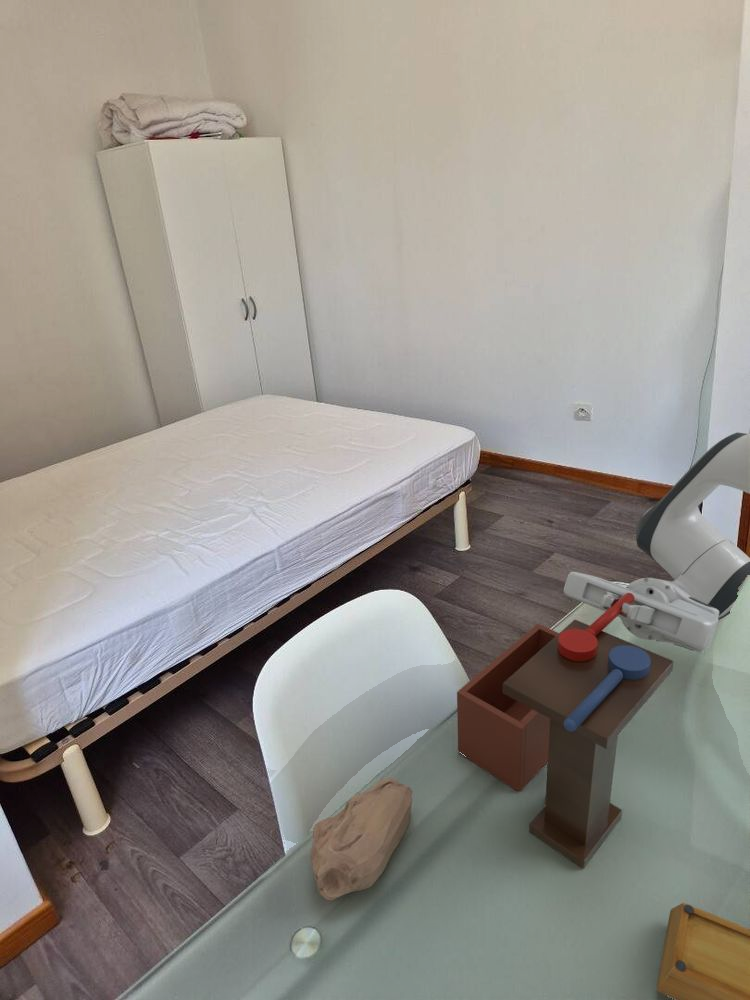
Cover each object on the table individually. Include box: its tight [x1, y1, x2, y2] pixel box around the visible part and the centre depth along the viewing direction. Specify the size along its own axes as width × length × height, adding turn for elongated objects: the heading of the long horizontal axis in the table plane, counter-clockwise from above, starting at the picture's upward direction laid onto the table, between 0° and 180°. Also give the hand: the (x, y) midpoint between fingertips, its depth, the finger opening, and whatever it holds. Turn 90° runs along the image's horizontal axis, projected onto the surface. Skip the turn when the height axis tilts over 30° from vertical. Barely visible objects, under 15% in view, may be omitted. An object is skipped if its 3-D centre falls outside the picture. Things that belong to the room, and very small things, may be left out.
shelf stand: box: [503, 619, 675, 870], centre depth 86 cm, size 16×13×26 cm
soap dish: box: [656, 902, 750, 1000], centre depth 72 cm, size 12×10×5 cm
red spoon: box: [558, 593, 634, 661], centre depth 87 cm, size 16×5×1 cm, turn 135°
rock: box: [309, 777, 413, 901], centre depth 88 cm, size 18×10×10 cm
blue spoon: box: [564, 645, 651, 731], centre depth 77 cm, size 16×5×1 cm, turn 135°
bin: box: [456, 623, 560, 793], centre depth 104 cm, size 21×11×12 cm, turn 135°
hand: (616, 606), depth 89 cm, fingers closed on red spoon, 1 cm apart
